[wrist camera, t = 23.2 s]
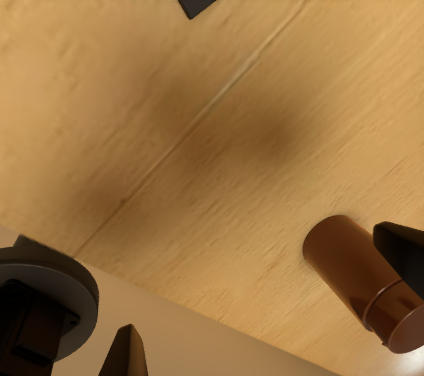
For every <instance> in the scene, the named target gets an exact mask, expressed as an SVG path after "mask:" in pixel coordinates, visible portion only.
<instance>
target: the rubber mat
mask: <svg viewBox="0 0 424 376" xmlns="http://www.w3.org/2000/svg"><path fill="white" fill-rule="evenodd" d="M178 1H179V2H180V4H181V6H182V8H183V9H184V11H185V13H186V15H187V16H188V18H189V19H193V18H194V17H195V16H196V15H198V14H199V13H200V12H202V11H203V10H204V9H205V8H207V7H208V6H209V5H211V4H212V3H213V2H214V1H216V0H178Z"/></svg>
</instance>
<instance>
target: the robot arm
mask: <svg viewBox="0 0 424 376" xmlns="http://www.w3.org/2000/svg"><path fill="white" fill-rule="evenodd" d="M373 245H374V247H375V249H376V250H377V251H378V252H379V253H380V254H381V256H382V257H383V258H384V259H385V260H386V262H387V263H388V264H389V265H390V266H391V267H392V269H393V270H394V271H395V272H396V273H397V274H398V276H399V277H400V278H401V279H402V280H403V281H404V282H405V283H406V284H407V285H408V286H409V287H410V288H411V289H412V290H413V291H414V292H415V293H416V294H417V295H418V296H419V297H420V298H421V299H422V300H423V301H424V231H421V230H417V229H414V228H410V227H406V226H402V225H399V224H395V223H391V222H387V221H384V222H381V223H379V224H376V225H375V226H374V228H373ZM10 285H12V286H15V287H11V286H10ZM80 319H81V317H80V315H78V314H77V313H75V312H73V311H71V310H70V309H68V308H66V307H64V306H63V305H61V304H59V303H58V302H56V301H54V300H52V299H51V298H49V297H47V296H45V295H44V294H42V293H40V292H39V291H37V290H35V289H33V288H32V287H30V286H28V285H26V284H25V283H23V282H21V281H20V280H17V279H9V280H7V281H5V282H4V283H3V284H1V285H0V376H51V373H52V368H53V363H54V360H56V358H57V354H58V350H59V345H60V340H61V337H63V336H64V335H65V334H67V333H68V332H69V331H71V330H72V329H74V328H75V327H76V326H78V325H79V324H80ZM72 320H75V321H72ZM98 376H148V371H147V365H146V360H145V353H144V348H143V342H142V339H141V337H140V335H139V334H138V332H137V331H136V329H135V327H134V326H133V325H132V324H128V325H126V326H123V327H121V328H120V329H119V330H118V332H117V334H116V336H115V339H114V341H113V343H112V345H111V348H110V350H109V353H108V355H107V357H106V359H105V362H104V364H103V366H102V369H101V371H100V373H99V375H98Z"/></svg>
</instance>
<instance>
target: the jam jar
mask: <svg viewBox="0 0 424 376" xmlns="http://www.w3.org/2000/svg"><path fill="white" fill-rule="evenodd" d="M303 255H304V257H305V259H306V261H307V262H308V263H309V264H310V265H311V266H312V268H313V269H314V270H315V271H316V272H317V273H318V275H319V276H320V277H321V278H322V279H323V280H324V281H325V283H326V284H327V285H328V286H329V287H330V288H331V289H332V291H333V292H334V293H335V294H336V295H337V296H338V298H339V299H340V300H341V301H342V302H343V303H344V304H345V306H346V307H347V308H348V309H349V310H350V311H351V313H352V314H353V315H354V316H355V317H356V318H357V319H358V321H359V322H360V323H361V324H362V325H363V326H364V328H365V329H367V330H368V331H370V332H374V333H375V334H376V335H377V336H378V337H379V339H380V340H381V341H382V342H383V343H382V345H384V346H386V347H387V348H388V349H389V350H390V351H391V352H393V353H397V354H402V353H407V352H410V351H413V350H415V349H417V348H419V347H421V346H423V345H424V301H423V300H422V299H421V298H420V297H419V296H418V295H417V294H416V293H415V292H414V291H413V290H412V289H411V288H410V287H409V286H408V285H407V284H406V283H405V282H404V281H403V280H402V279H401V278H400V277H399V276H398V274H397V273H396V272H395V271H394V270H393V269H392V267H391V266H390V265H389V264H388V263H387V262H386V260H385V259H384V258H383V257H382V256H381V254H380V253H379V252H378V251H377V250H376V249H375V247H374V245H373V235H372V234H371V233H369V232H368V231H367V230H365V229H364V228H363V227H361V226H360V225H359V224H357V223H356V222H355V221H353V220H352V219H351V218H349V217H346V216H333V217H330V218H327V219H325V220H324V221H322V222H320V223H319V224H318V225H316V226H315V227H314V228H313V229H312V231H311V232H310V233H309V235H308V236H307V238H306V240H305V243H304V246H303Z"/></svg>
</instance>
